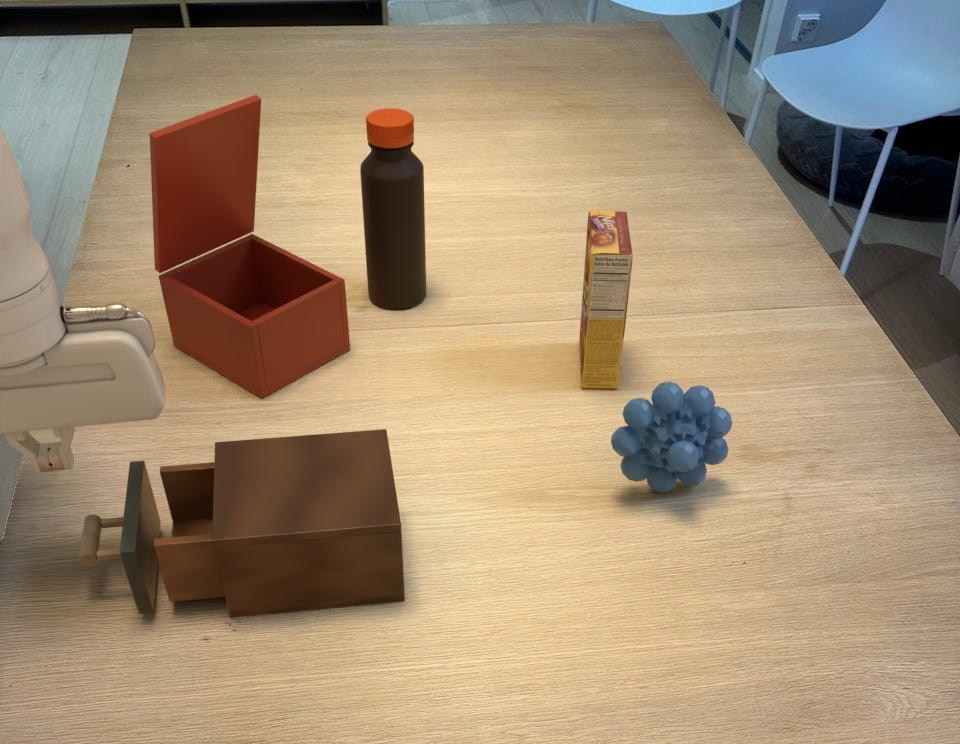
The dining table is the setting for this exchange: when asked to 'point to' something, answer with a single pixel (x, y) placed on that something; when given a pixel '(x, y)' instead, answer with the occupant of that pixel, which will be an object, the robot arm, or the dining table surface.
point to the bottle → (393, 211)
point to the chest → (256, 314)
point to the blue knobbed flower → (672, 436)
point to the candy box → (604, 298)
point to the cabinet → (307, 523)
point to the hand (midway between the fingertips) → (55, 467)
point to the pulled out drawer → (180, 556)
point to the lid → (204, 181)
